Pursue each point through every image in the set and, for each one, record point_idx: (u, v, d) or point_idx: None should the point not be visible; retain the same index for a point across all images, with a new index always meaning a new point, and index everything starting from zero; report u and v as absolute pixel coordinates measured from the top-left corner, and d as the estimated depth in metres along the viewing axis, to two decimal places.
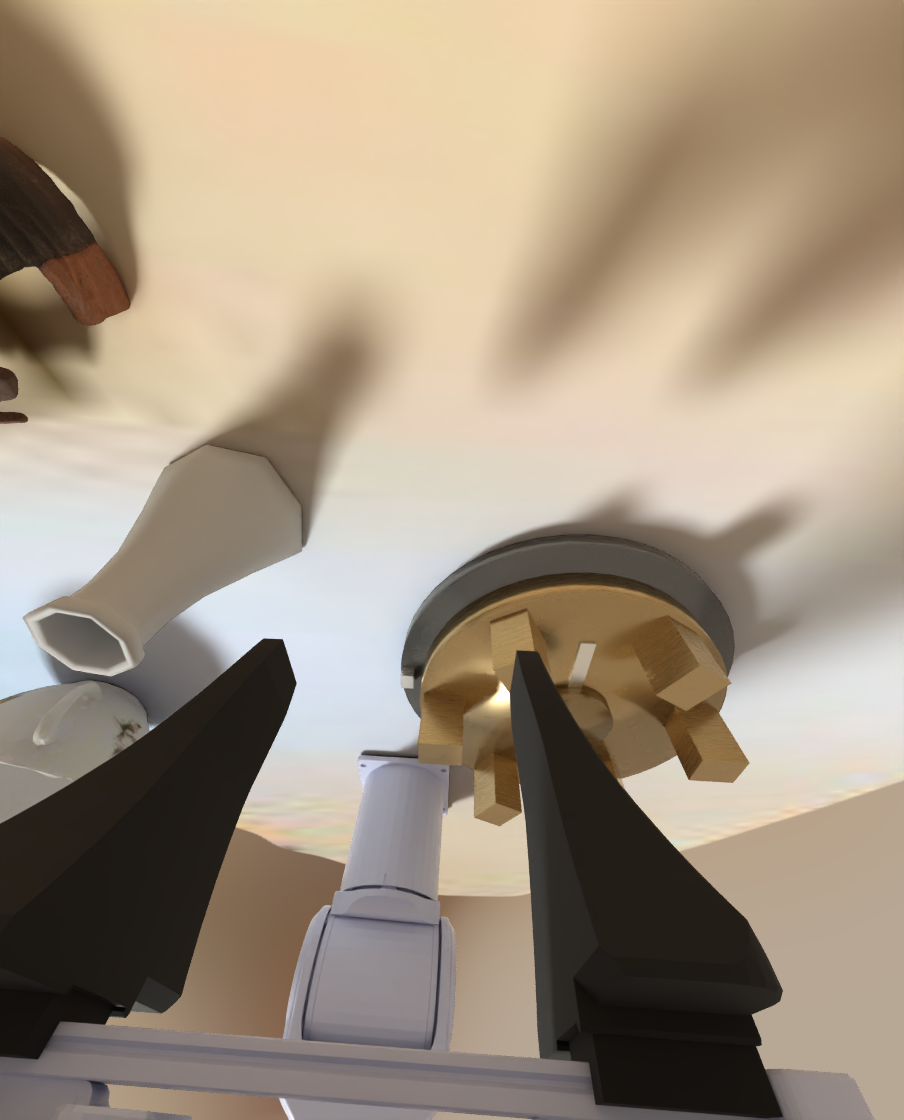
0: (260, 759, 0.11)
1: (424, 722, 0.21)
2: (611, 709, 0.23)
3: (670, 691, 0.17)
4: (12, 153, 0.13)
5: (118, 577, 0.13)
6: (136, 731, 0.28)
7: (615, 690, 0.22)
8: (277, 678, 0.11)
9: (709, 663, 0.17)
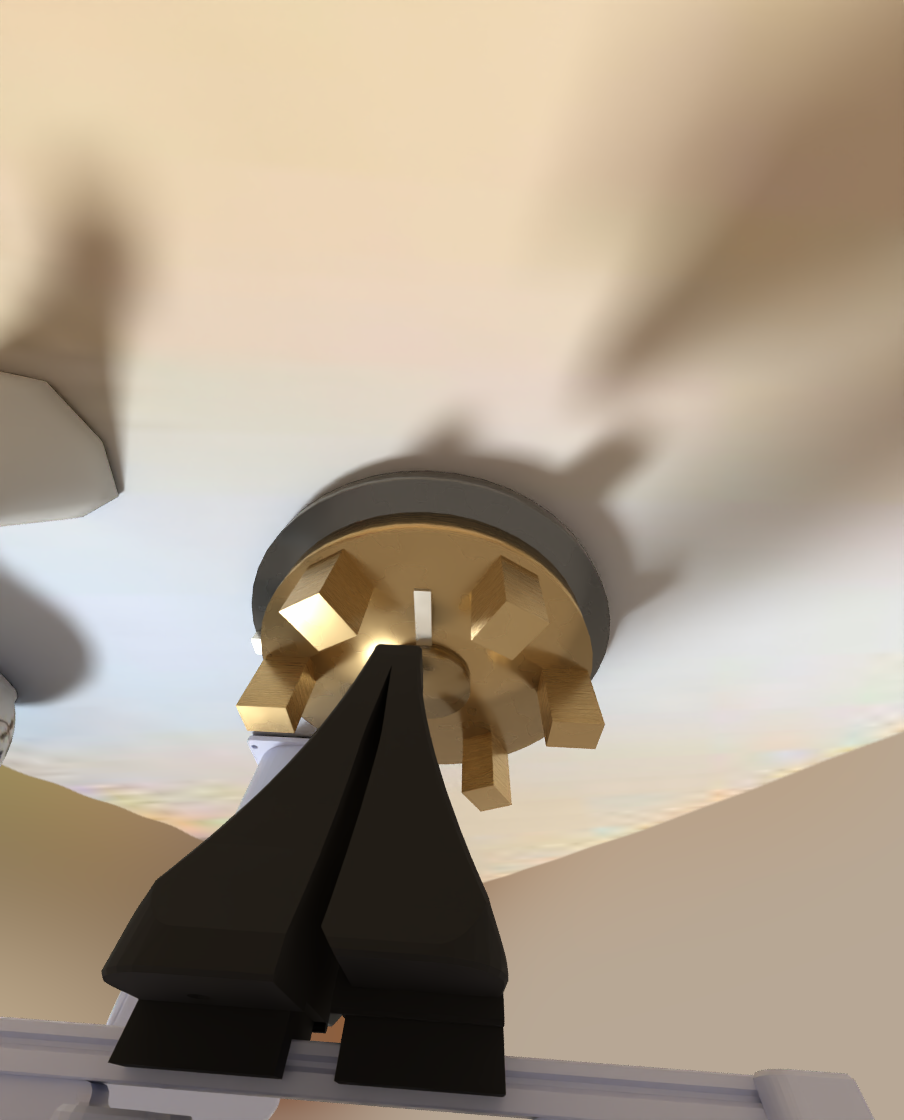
0: None
1: (253, 684, 0.19)
2: (473, 671, 0.21)
3: (485, 635, 0.15)
4: None
5: None
6: None
7: (470, 648, 0.20)
8: None
9: (528, 602, 0.15)
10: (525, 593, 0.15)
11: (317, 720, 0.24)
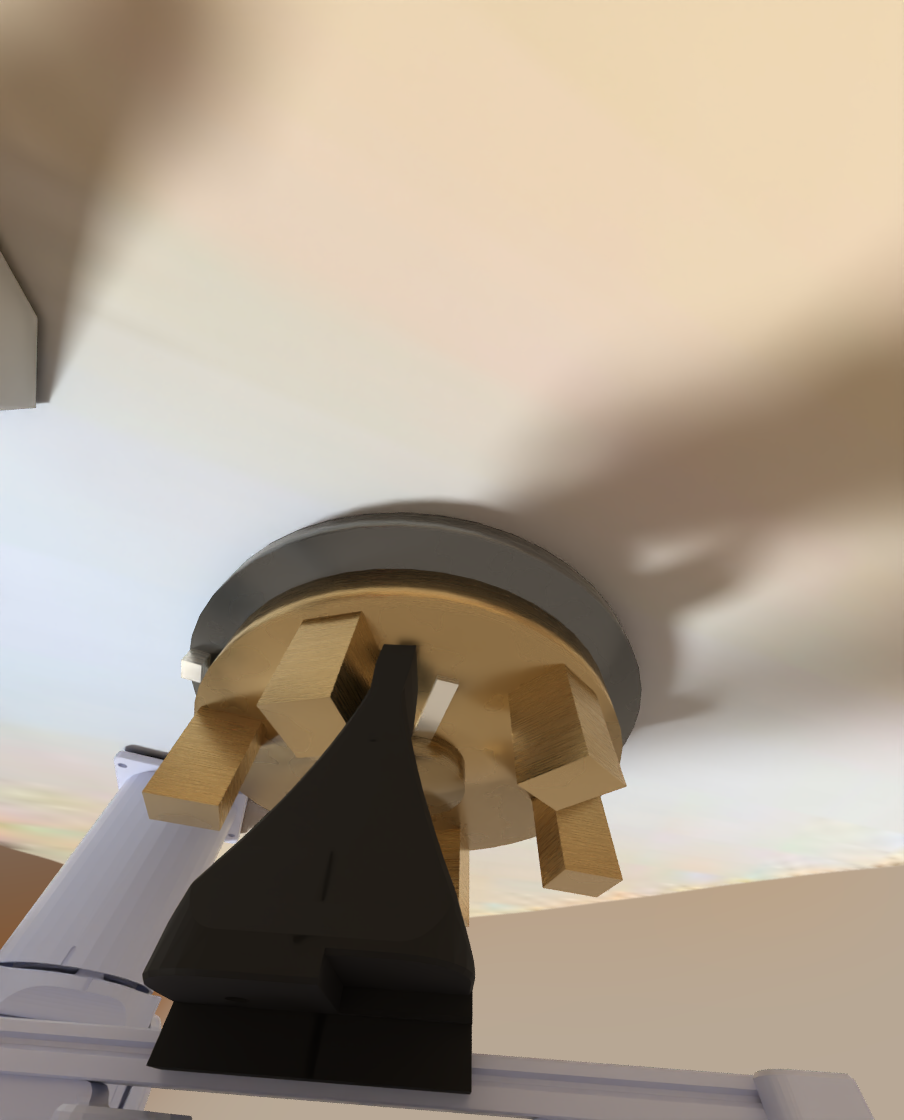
0: None
1: (174, 755, 0.13)
2: (468, 771, 0.17)
3: (539, 783, 0.11)
4: None
5: None
6: None
7: (477, 748, 0.16)
8: (413, 685, 0.11)
9: (603, 750, 0.11)
10: (597, 732, 0.12)
11: (246, 785, 0.18)
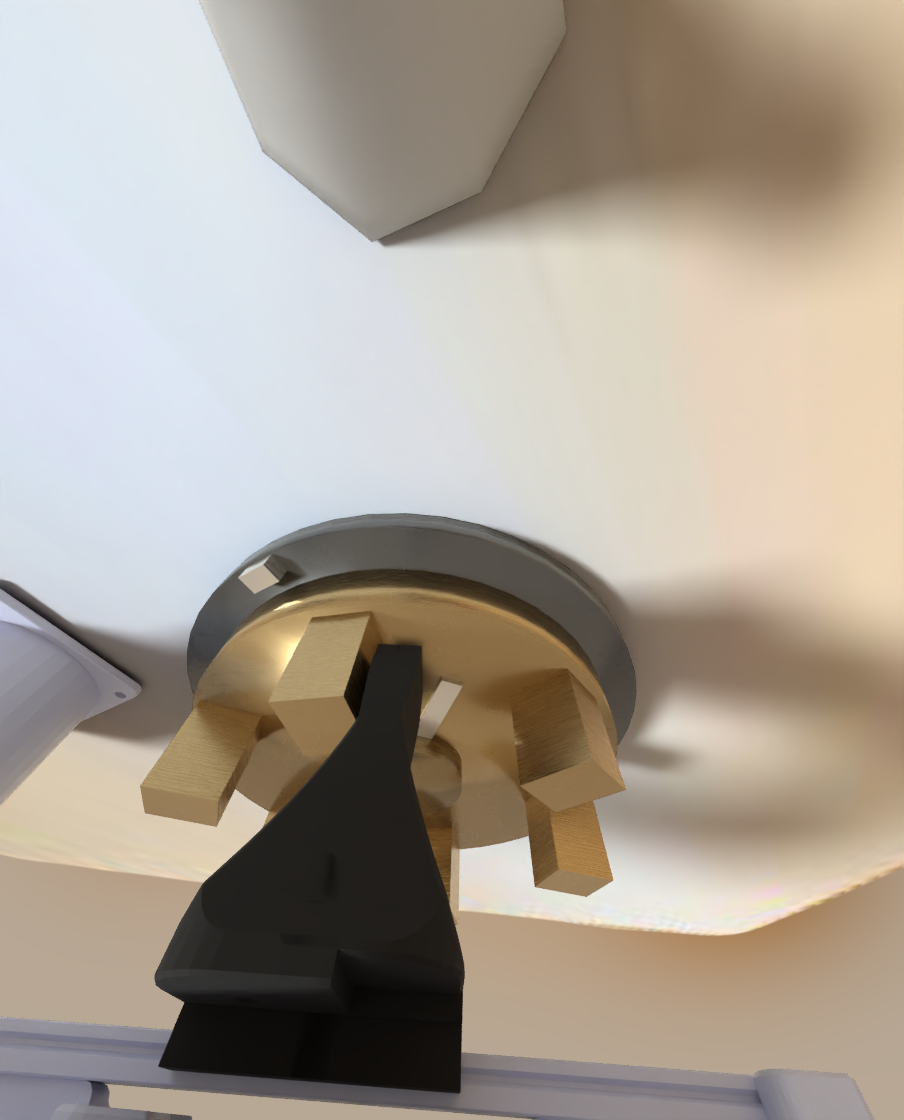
0: None
1: (173, 749, 0.13)
2: (465, 771, 0.17)
3: (541, 784, 0.11)
4: None
5: None
6: None
7: (475, 749, 0.16)
8: (418, 685, 0.11)
9: (604, 754, 0.11)
10: (598, 737, 0.12)
11: (239, 781, 0.18)
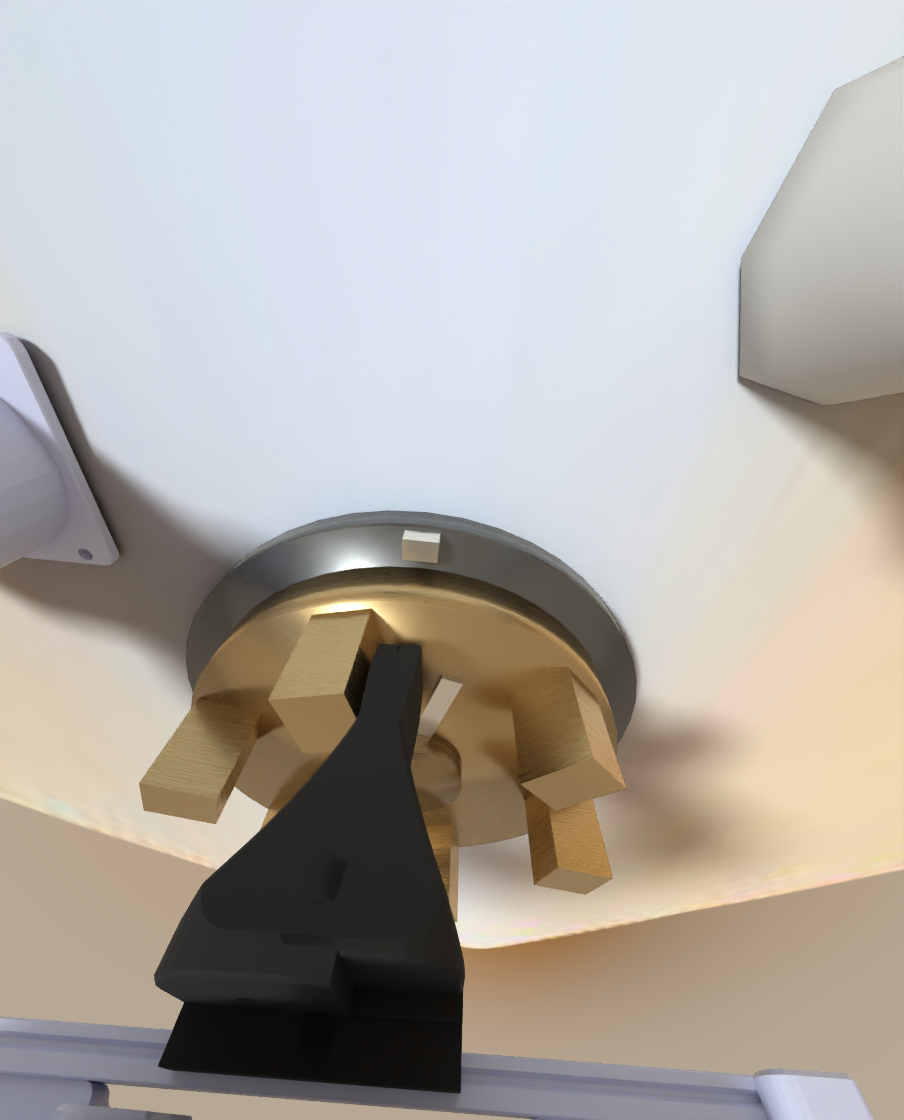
0: None
1: (172, 747, 0.13)
2: (464, 769, 0.17)
3: (541, 783, 0.11)
4: None
5: None
6: None
7: (475, 747, 0.16)
8: (418, 685, 0.11)
9: (605, 752, 0.11)
10: (599, 735, 0.12)
11: (238, 778, 0.18)
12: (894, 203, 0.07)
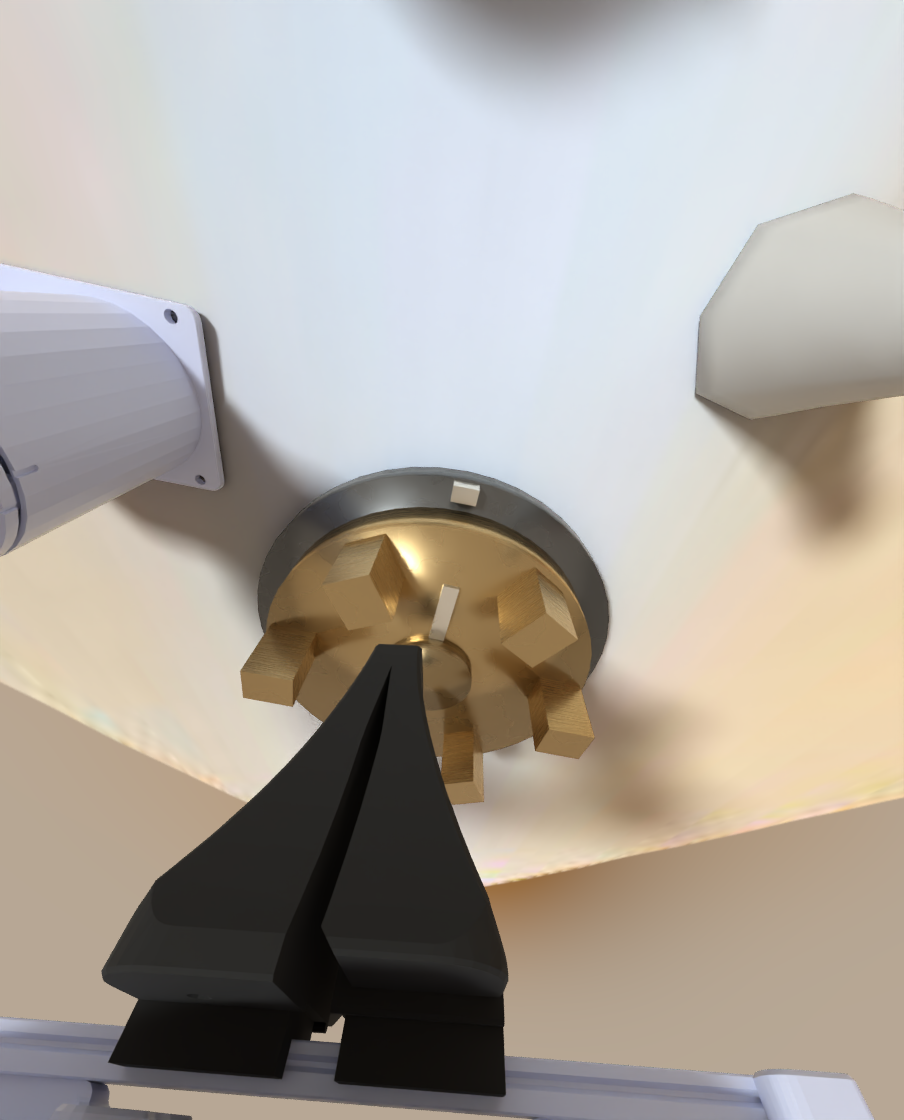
0: None
1: (258, 651, 0.19)
2: (474, 671, 0.21)
3: (516, 641, 0.16)
4: None
5: None
6: None
7: (479, 649, 0.21)
8: None
9: (560, 616, 0.16)
10: (557, 607, 0.16)
11: (303, 696, 0.23)
12: (778, 300, 0.12)
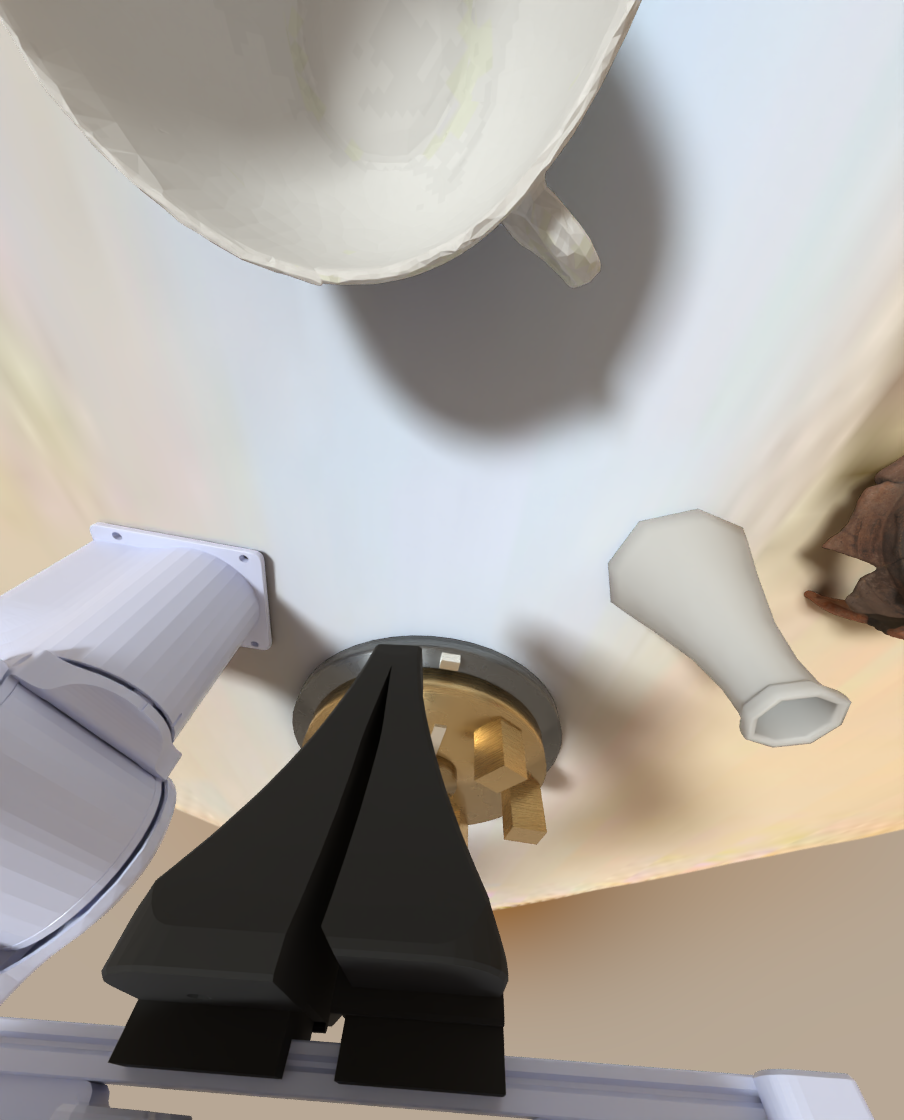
0: None
1: None
2: (459, 774, 0.28)
3: (484, 779, 0.22)
4: None
5: None
6: None
7: (462, 761, 0.27)
8: None
9: (515, 762, 0.22)
10: (514, 753, 0.23)
11: None
12: (647, 584, 0.19)
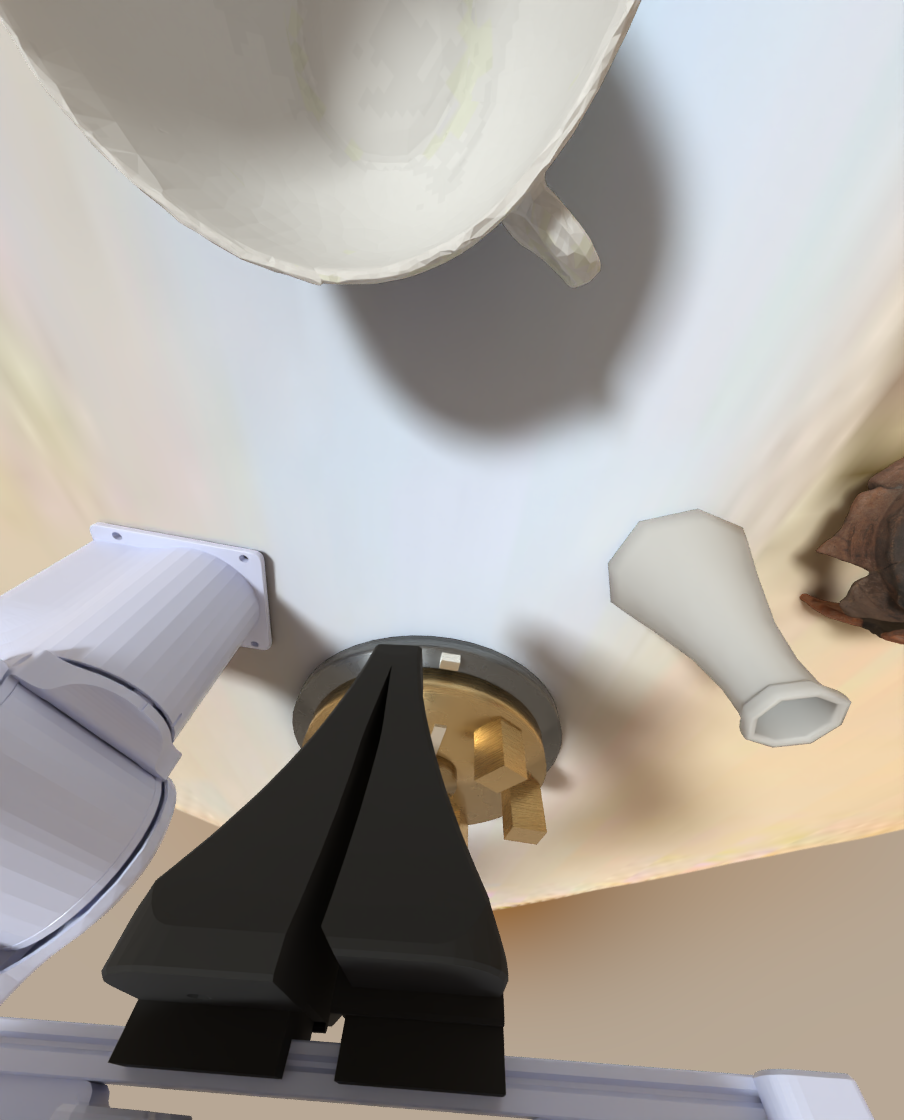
0: None
1: None
2: (459, 774, 0.28)
3: (484, 779, 0.22)
4: None
5: None
6: None
7: (462, 761, 0.27)
8: None
9: (515, 762, 0.22)
10: (514, 753, 0.23)
11: None
12: (647, 584, 0.19)
